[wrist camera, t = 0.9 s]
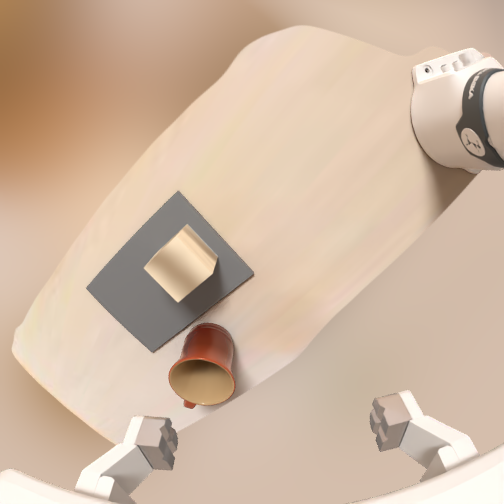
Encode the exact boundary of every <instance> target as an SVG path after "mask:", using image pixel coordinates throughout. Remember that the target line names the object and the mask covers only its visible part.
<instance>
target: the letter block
mask: <svg viewBox="0 0 504 504" xmlns="http://www.w3.org/2000/svg"><path fill="white" fill-rule="evenodd" d="M217 258H218V256H217V255H216V254H215V253H214V251H213V250H212V249H211V248H210V247H209V246H208V245H207V244H206V243H205V242H204V241H203V240H202V239H201V238H200V237H199V235H198V234H197V233H196V232H195V231H194V230H193V229H192V228H191V227H190V226H189V225H188V224H186V225H185V226H184V227H183V228H182V229H181V230H180V231H179V232H178V233H177V234H176V235H175V236H174V237H173V238H171V239H170V240H169V241H168V242H167V243H166V244H165V245H164V246H163V247H162V248H161V249H160V250H159V251H158V252H157V253H156V254H155V255H154V256H153V258H152V259H151V260H150V261H149V262H148V263H147V264H146V266H145V267H144V269H145V270H146V271H147V272H148V273H149V274H150V275H151V276H152V277H153V278H154V279H155V280H156V281H157V282H158V283H159V284H160V285H161V286H162V287H163V288H164V289H165V290H166V291H167V292H168V293H169V294H170V295H171V296H172V297H173V298H174V299H175V300H176V301H177V302H179V301H180V300H182V299H183V298H184V297H185V296H186V295H188V294H189V293H190V292H191V291H192V290H194V289H195V288H196V287H197V286H199V285H200V284H201V283H202V282H203V281H205V280H206V279H207V278H208V277H209V276H211V275H212V274H213V271H214V268H215V264H216V261H217Z"/></svg>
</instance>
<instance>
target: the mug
mask: <svg viewBox="0 0 504 504" xmlns="http://www.w3.org/2000/svg"><path fill="white" fill-rule="evenodd" d="M233 352H234V347H233V341H232V338H231V336H230V334H229V332H228V331H227V330H226V329H224V328H223V327H221V326H219V325H217V324H213V323H202V324H199V325H197V326H195V327H194V328H193V329H192V330H191V331H190V332H189V334H188V335H187V337H186V338H185V341H184V345H183V349H182V352H181V356H180V359H179V360H178V361H177V362H176V363H175V364H174V365H173V366H172V368H171V369H170V372H169V383H170V385H171V387H172V389H173V390H174V391H175V393H176V394H177V395H178V396H180V397H181V398H182V399H184V406H185V407H187V408H190V409H193V408H194V407H195V406H196V404H198V405H204V406H206V405H216V404H219V403H222V402H224V401H226V400H227V399H229V398H230V397H231V396H232V394H233V393H234V390H235V379H234V377H233V374H232V371H231V365H232V359H233Z"/></svg>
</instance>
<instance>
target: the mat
mask: <svg viewBox="0 0 504 504" xmlns="http://www.w3.org/2000/svg"><path fill="white" fill-rule="evenodd" d="M186 224H188V225H189V226H190V227H191V228H192V229H193V230H194V231H195V232H196V233H197V234H198V235H199V237H200V238H201V239H202V240H203V241H204V242H205V243H206V244H207V245H208V246H209V247H210V248H211V249H212V250H213V251H214V253H215V254H216V255H217V256H218V258H217V261H216V264H215V268H214V271H213V274H212V275H211V276H209V277H208V278H207V279H206V280H205V281H203V282H202V283H201V284H200V285H199V286H197V287H196V288H195V289H194V290H192V291H191V292H190V293H189V294H188V295H186V296H185V297H184V298H183V299H182V300H180V301H179V302H177V301H176V300H175V299H174V298H173V297H172V296H171V295H170V294H169V293H168V292H167V291H166V290H165V289H164V288H163V287H162V286H161V285H160V284H159V283H158V282H157V281H156V280H155V279H154V278H153V277H152V276H151V275H150V274H149V273H148V272H147V271H146V270H145V269H144V267H145V266H146V264H147V263H148V262H149V261H150V260H151V259H152V258H153V256H154V255H155V254H156V253H157V252H158V251H159V250H160V249H161V248H162V247H163V246H164V245H165V244H166V243H167V242H168V241H169V240H170V239H171V238H173V237H174V236H175V235H176V234H177V233H178V232H179V231H180V230H181V229H182V228H183V227H184V226H185V225H186ZM253 274H254V272H253V271H252V270H251V269H250V268H249V267H248V265H247V264H246V263H245V262H244V261H243V260H242V259H241V258H240V257H239V256H238V255H237V254H236V253H235V251H234V250H233V249H232V248H231V247H230V246H229V245H228V244H227V243H226V242H225V241H224V240H223V238H222V237H221V236H220V235H219V234H218V233H217V232H216V231H215V230H214V229H213V228H212V227H211V225H210V224H209V223H208V222H207V221H206V220H205V219H204V218H203V217H202V216H201V215H200V213H199V212H198V211H197V210H196V209H195V208H194V207H193V206H192V205H191V204H190V203H189V201H188V200H187V199H186V198H185V197H184V196H183V195H182V194H181V193H180V192H179V191H177V192H176V193H175V194H174V195H173V196H172V197H171V198H170V199H169V200H168V201H167V202H166V203H165V204H164V205H163V206H162V207H161V208H160V209H159V210H158V211H157V212H156V213H155V214H154V215H153V216H152V217H151V218H150V219H149V220H148V221H147V222H146V223H145V224H144V225H143V226H142V227H141V228H140V229H139V230H138V231H137V232H136V233H135V234H134V235H133V236H132V238H131V239H130V240H129V241H128V242H127V243H126V244H125V245H124V246H123V247H122V248H121V249H120V250H119V251H118V253H117V254H116V255H115V256H114V257H113V258H112V259H111V260H110V261H109V262H108V264H107V265H106V266H105V267H104V268H103V269H102V270H101V271H100V273H99V274H98V275H97V276H96V277H95V278H94V279H93V281H92V282H91V283H90V284H89V285H88V286H87V288H86V289H87V290H88V291H89V292H90V293H91V294H92V295H93V296H94V297H95V298H96V300H97V301H98V302H99V303H100V304H101V305H102V306H103V307H104V308H105V309H106V310H107V311H108V312H109V313H110V314H111V315H112V316H113V317H114V318H115V319H116V320H117V321H118V322H120V323H121V324H122V325H123V326H124V327H125V328H126V329H127V330H128V331H129V332H130V333H131V334H132V335H133V336H134V337H135V338H137V339H138V340H139V341H140V342H141V343H142V344H143V345H144V346H145V347H147V348H148V349H149V350H150V351H151V352H153V351H154V350H156V349H157V348H158V347H160V346H161V345H162V344H164V343H165V342H166V341H168V340H169V339H170V338H172V337H173V336H174V335H175V334H177V333H178V332H179V331H181V330H182V329H183V328H185V327H186V326H187V325H188V324H190V323H191V322H192V321H194V320H195V319H196V318H198V317H199V316H200V315H201V314H203V313H204V312H205V311H207V310H208V309H209V308H210V307H212V306H213V305H214V304H216V303H217V302H218V301H219V300H221V299H222V298H223V297H225V296H226V295H227V294H228V293H230V292H231V291H232V290H234V289H235V288H236V287H237V286H239V285H240V284H241V283H242V282H244V281H245V280H246V279H248V278H249V277H250V276H251V275H253Z"/></svg>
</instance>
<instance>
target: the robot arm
mask: <svg viewBox="0 0 504 504" xmlns="http://www.w3.org/2000/svg"><path fill="white" fill-rule="evenodd" d="M425 69H426V70H427V73H426V72H425ZM412 76H413V82H414V93H413V97H412V102H411V118H412V124H413V128H414V131H415V134H416V137H417V139H418V141H419V143H420V145H421V146H422V148H423V149H424V151H425V152H426V153H427V154H428V155H429V156H430V157H431V158H432V159H433V160H434V161H436V162H437V163H439V164H441V165H443V166H446V167H450V168H463V169H465V170H466V171H468V172H470V173H472V174H478V173H480V171H481V170H503V169H504V68H503V67H502V66H501V65H500V64H499V63H498V62H497V61H496V60H495V59H494V58H492V57H487V58H485V57H484V56H483V55H482V54H481V53H479V52H478V51H477V50H476V49H474V48H468V49H464V50H461V51H458V52H455V53H451V54H448V55H445V56H442V57H439V58H436V59H433V60H430V61H427V62H424V63H421V64H418V65H416V66H414V67H413V69H412ZM373 407H374V409H373V410H372V411H371V413H370V425H371V429H372V431H373V433H375V434H377V437H376V442H377V445H378V448H379V451H380V452H381V451H386V450H389V449H393V448H397V447H399V448H400V449H401V450H402V451H404V452H405V453H406V454H408V455H409V456H410V457H412V458H413V459H414V460H416V461H417V462H418V463H420V464H421V465H422V466H424V467H425V468H426V469H427V470H426V472H425V473H424V475H423V476H422V478H421V480H420V483H417V484H415V485H412V486H409V487H406V488H403V489H400V490H397V491H393V492H390V493H387V494H383V495H380V496H376V497H372V498H368V499H365V500H360V501H356V502H352V503H347V504H504V443H503V444H501V445H499V446H498V447H496V448H494V449H492V450H490V451H489V452H487V453H485V454H483V455H482V456H480V455H479V453H478V451H477V450H476V448H475V446H474V444H473V443H472V441H471V439H470V438H469V436H468V435H465V434H464V433H462V432H460V431H458V430H456V429H454V428H451V427H449V426H447V425H445V424H444V423H442V422H440V421H438V420H436V419H434V418H432V417H430V416H428V415H426V416H424V415H423V413H422V411H421V409H420V407H419V406H418V404H417V402H416V400H415V399H414V397H413V395H412V393H411V392H410V391H409V390H406V391H402V392H399V393H394V394H390V395H387V396H382V397H378V398H375V399H374V401H373ZM171 425H172V422H171V420H170V418H162V417H149V416H137V415H135V416H134V417H133V418H132V420H131V422H130V425H129V427H128V430H127V433H126V435H125V438H124V441H123V443H119V444H118V445H116V446H115V447H114V448H112V449H111V450H110V451H109V452H107V453H106V454H104V455H103V456H101V457H100V458H99V459H97V460H96V461H94V462H93V463H92V464H90V465H89V466H88V467H86V468H85V469H83V470H82V473H81V475H80V478H79V480H78V482H77V485H76V487H75V490H74V491H71V490H68V489H65V488H61V487H59V486H56V485H53V484H50V483H48V482H45V481H42V480H40V479H37V478H35V477H32V476H30V475H28V474H25V473H23V472H21V471H19V470H16V469H12V468H11V469H7V470H4V471H2V472H0V504H136V503H135V502H134V501H133V500H132V499H131V497H130V496H129V495H130V494H131V493H132V492H133V491H134V490H135V489H136V487H137V486H139V484H140V483H141V482H142V481H143V480H144V479H145V478H146V477H147V476H148V475H149V474H150V473H151V472H152V471H153V469H158V470H172V469H173V465H174V460H175V457H174V456H173V453H174V452H175V451H176V450H177V445H178V438H177V433H176V431H175V429H173V428H172V427H171Z"/></svg>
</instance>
